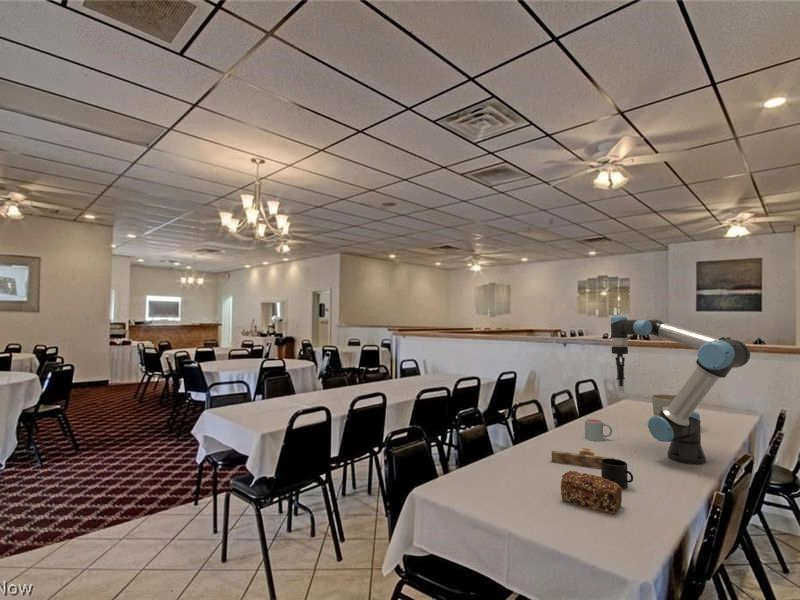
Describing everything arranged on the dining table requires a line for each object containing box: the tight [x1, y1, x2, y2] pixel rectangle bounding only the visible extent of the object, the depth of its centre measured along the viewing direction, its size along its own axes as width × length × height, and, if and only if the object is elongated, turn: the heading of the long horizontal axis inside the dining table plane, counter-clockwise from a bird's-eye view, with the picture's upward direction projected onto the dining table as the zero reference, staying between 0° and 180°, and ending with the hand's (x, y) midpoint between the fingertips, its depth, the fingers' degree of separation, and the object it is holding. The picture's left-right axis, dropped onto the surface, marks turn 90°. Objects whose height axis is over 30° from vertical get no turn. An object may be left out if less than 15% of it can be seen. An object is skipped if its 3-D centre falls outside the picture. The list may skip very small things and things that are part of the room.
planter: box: [651, 393, 677, 416], centre depth 262 cm, size 21×21×19 cm
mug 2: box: [600, 457, 634, 490], centre depth 172 cm, size 9×12×9 cm
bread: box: [560, 470, 623, 515], centre depth 156 cm, size 19×11×10 cm, turn 50°
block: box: [578, 446, 595, 456], centre depth 200 cm, size 6×6×6 cm
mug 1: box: [584, 418, 613, 443], centre depth 238 cm, size 14×9×10 cm
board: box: [551, 450, 615, 470], centre depth 196 cm, size 26×3×5 cm, turn 64°
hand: (621, 392), depth 221 cm, fingers closed
